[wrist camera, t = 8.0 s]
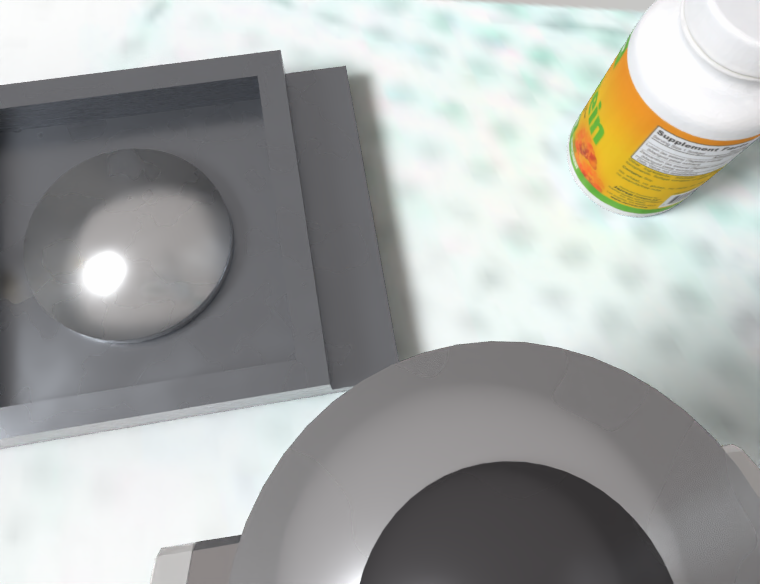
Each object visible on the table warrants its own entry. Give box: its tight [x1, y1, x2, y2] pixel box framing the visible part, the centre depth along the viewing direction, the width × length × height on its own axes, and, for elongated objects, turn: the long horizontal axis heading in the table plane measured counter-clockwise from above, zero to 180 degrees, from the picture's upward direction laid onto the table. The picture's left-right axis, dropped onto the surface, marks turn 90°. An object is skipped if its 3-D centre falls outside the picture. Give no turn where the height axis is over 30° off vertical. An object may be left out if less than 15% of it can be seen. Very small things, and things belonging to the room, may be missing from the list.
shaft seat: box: [0, 50, 399, 449], centre depth 22 cm, size 18×13×3 cm
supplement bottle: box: [567, 0, 760, 217], centre depth 21 cm, size 5×5×10 cm
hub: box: [228, 341, 760, 584], centre depth 9 cm, size 6×5×8 cm
